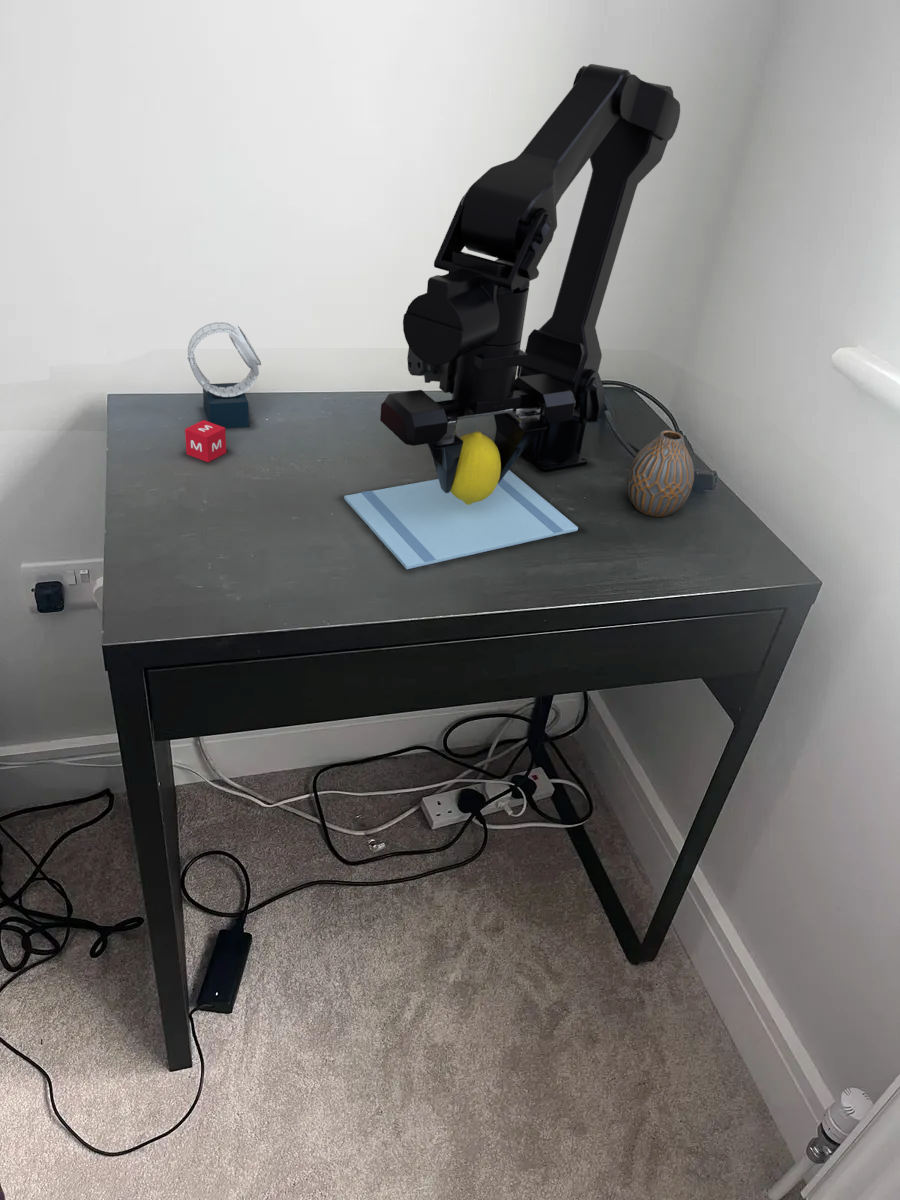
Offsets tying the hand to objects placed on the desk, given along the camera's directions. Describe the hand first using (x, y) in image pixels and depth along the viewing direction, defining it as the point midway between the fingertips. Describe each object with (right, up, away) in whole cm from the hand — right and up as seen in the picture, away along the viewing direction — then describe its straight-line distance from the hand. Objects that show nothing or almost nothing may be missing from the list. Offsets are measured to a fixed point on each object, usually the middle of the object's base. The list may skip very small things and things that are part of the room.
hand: (470, 486), depth 92 cm
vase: (+20, -1, +8) cm, 22 cm away
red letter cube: (-29, +4, +8) cm, 30 cm away
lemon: (0, -2, +1) cm, 2 cm away
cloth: (-1, -3, +3) cm, 4 cm away
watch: (-28, +10, +16) cm, 34 cm away
